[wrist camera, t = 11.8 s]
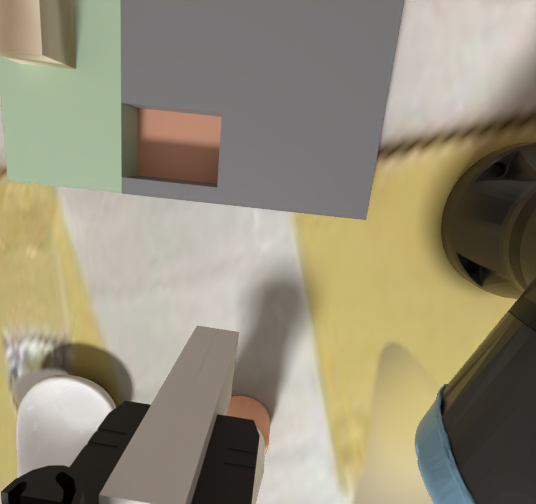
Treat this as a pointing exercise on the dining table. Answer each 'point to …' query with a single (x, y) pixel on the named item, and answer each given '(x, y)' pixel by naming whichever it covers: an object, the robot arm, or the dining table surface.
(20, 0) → the birch block
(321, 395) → the dining table surface
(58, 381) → the spoon rest
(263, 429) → the salt shaker
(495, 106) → the dining table surface
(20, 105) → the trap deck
